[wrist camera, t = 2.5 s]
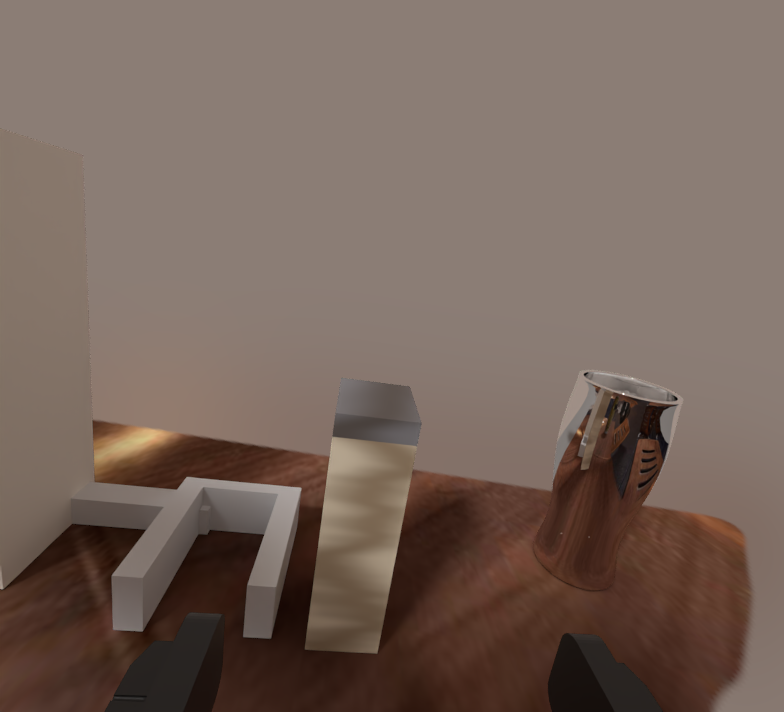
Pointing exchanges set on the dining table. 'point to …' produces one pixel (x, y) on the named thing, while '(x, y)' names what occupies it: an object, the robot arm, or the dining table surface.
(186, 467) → the dining table surface
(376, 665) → the dining table surface
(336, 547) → the rail end
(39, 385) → the white socket stand
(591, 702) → the robot arm
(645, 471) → the beer glass
